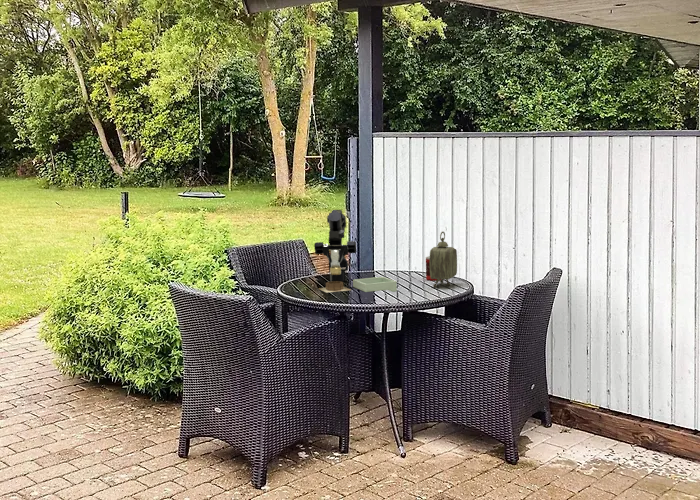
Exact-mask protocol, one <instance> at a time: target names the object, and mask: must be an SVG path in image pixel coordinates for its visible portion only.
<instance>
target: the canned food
mask: <svg viewBox="0 0 700 500" xmlns="http://www.w3.org/2000/svg"><path fill="white" fill-rule="evenodd" d="M425 278H426V280H427V281H429V282H431V281H433V282H434V281H435V282H436V281H437V279H431V278H430V255H428V256H426V257H425ZM439 281H441V279H440V280H439Z"/></svg>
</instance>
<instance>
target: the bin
mask: <svg viewBox="0 0 700 500" xmlns="http://www.w3.org/2000/svg"><path fill="white" fill-rule="evenodd" d="M397 282H398V281H396V280H394V279H391V278H389V277H388V278H387V277H385V276H377V277H366V278H356V279H352V285H353V286H352V287H353V288H354V289H357V290H359V291H362V292H365V293H369V292H379V291H390V292H393V293H394V292H398V289H397Z"/></svg>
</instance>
